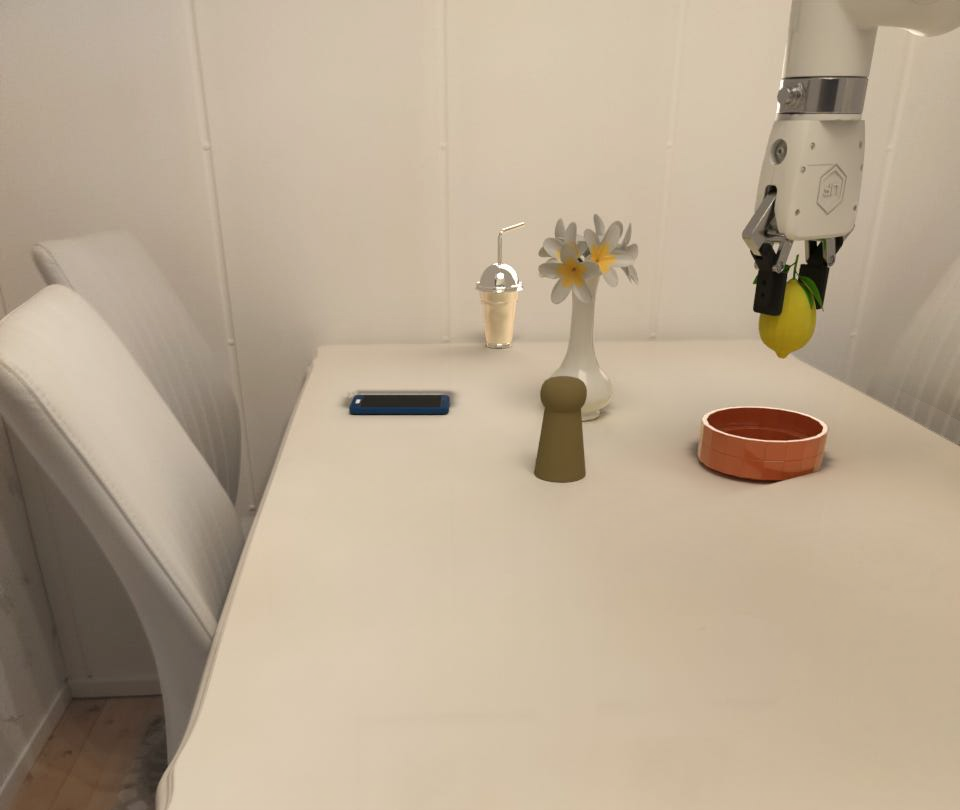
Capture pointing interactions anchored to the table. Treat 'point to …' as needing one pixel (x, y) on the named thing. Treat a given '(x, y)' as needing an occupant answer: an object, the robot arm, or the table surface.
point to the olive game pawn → (561, 430)
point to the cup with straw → (499, 298)
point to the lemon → (791, 316)
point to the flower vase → (586, 296)
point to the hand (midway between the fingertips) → (787, 308)
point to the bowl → (762, 442)
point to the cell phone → (400, 404)
